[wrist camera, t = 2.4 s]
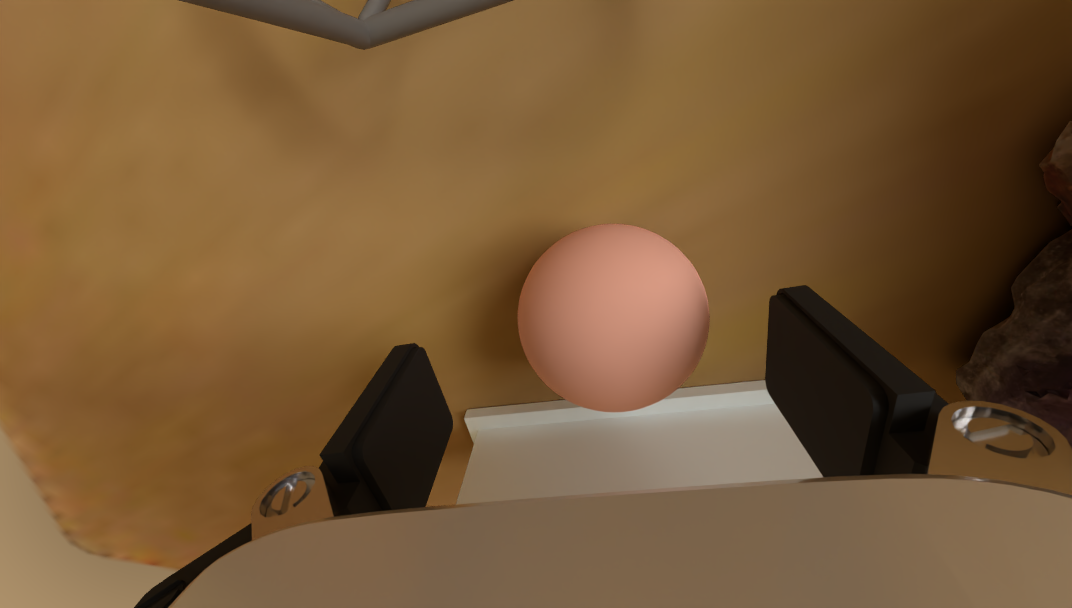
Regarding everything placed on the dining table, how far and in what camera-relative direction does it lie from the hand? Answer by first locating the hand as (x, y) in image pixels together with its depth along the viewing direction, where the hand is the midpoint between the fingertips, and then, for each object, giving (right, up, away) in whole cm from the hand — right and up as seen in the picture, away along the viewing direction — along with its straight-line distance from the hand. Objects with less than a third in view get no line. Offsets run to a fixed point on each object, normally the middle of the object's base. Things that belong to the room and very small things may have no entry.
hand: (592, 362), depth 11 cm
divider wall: (+3, -3, +8) cm, 9 cm away
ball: (+1, +3, +5) cm, 6 cm away
